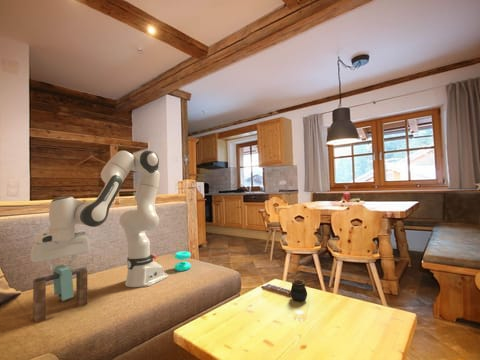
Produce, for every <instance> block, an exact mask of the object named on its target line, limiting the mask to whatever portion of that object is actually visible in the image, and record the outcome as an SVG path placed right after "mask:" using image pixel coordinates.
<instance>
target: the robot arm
mask: <svg viewBox="0 0 480 360" xmlns="http://www.w3.org/2000/svg"><path fill="white" fill-rule="evenodd" d="M159 164H160V159H159V156H158V154H157V153H156V152H154V151H153V150H142V151H138V152H134V153H130V152H129V151H128V150H119V151H118V152H116V153H115V154H114V155H113V156H112V157H111V158H110V159H108V161H107V163H106V164H105V165H104V166H103V168H102V169H101V172H100V178H101V180H102V181H103V182H104V187H103V188H102V190H101V192H100V193H99V195H98V196H97V198H96V200H94V201H93V202H90V203H89V202H85V201H81V200H79V199H76V198H74V197H73V196H72V195H69V196H68V195H66V196H61V197H60V196H59V197H56V198H53V199H52V200H51V201H50V203H49V204H50V205H49V210H48V219H49V222H50V224H49V227H48V231H46V232H44V233H41V234H39V235H37V236H35V237H34V242H35V243H33V245H32V246H31V249H30V250H31V251H30V260H31V262H32V263H40V262H46V264H47V265H48V266H49V270H50V271H54V270H55V266H56V264H52V262H53V260H55V259H56V260H57V259H60V258H66V257H69V256H71V257H72V258H71V259H70V260H69V261H68V266H69V267H71V266H75V260H76V259H77V257H78V255H80V254H85V253H88V252H89V251H90V234H89V232H86V231H81V232H75V231H76V229H75V227H76V226H75V225H76V224H80V225H84V226H88V227H91V228H96V227H100V226H102V224H104V223H105V222H106V221H107V219H108V216H109V213H110V208H111V205H112V204H113V203H114V201H115V199H116V197H117V195H118V194H119V191H120V190H121V187H122V186H123V184H124V183H123V182H124V180H126V178H127V176H128V175H129V174H130V172H132V173H137V172H139V174H140V176H139V177H140V178H139V181H138V183H137V188H136V190H135V191H136V192H135V195H134V200H135V202H136V209H135V210H134V209H131V210H126V211H124V212H123V213H122V214H121V215H120V216H119V224H120V226H121V227H122V229H123V231H124V234H125V237H126V241H127V253H128V254H127V262H126V263H127V264H126V266H127V273H126V277H125V278H126V279H125V282H124V285H125V287H128V288H141V287H142V288H143V287H151V286H152V285H154V284H157V283H158V282H161V281H162V280H165V279H167V278H168V277H169V275H168V273H167V272H164V271H165V270H164V267H163V266H162V265H161V264H159V262H156V261H154V260H155V259H157V255H156V254H151V242H150V238H148V236H147V234H146V233H147V232H151V231H154V230H156V229H157V228H158V227H159V224H160V216H159V215H158V214H157V211H156V201H157V195H158V191H159V187H160V180H161V173H160V171H159V170H158V169H159Z"/></svg>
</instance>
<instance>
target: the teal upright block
mask: <svg viewBox="0 0 480 360" xmlns="http://www.w3.org/2000/svg"><path fill="white" fill-rule="evenodd" d="M70 270H71V268H70V267H67V266H66V265H64V264H59V265H58V264H57V265H55V270H52V275H54V274H59V275H60V276H59V278H58V279H54V280H52V281H53V292H54V295H55V296H59V294H61V297H60V299H61V300H62V301H63V300H66V299H69V298H71V297H73V298H74V295H75V293H74V283H73V282H74V281H73V280H74V279H73V275H72V273H71V272H70Z"/></svg>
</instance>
